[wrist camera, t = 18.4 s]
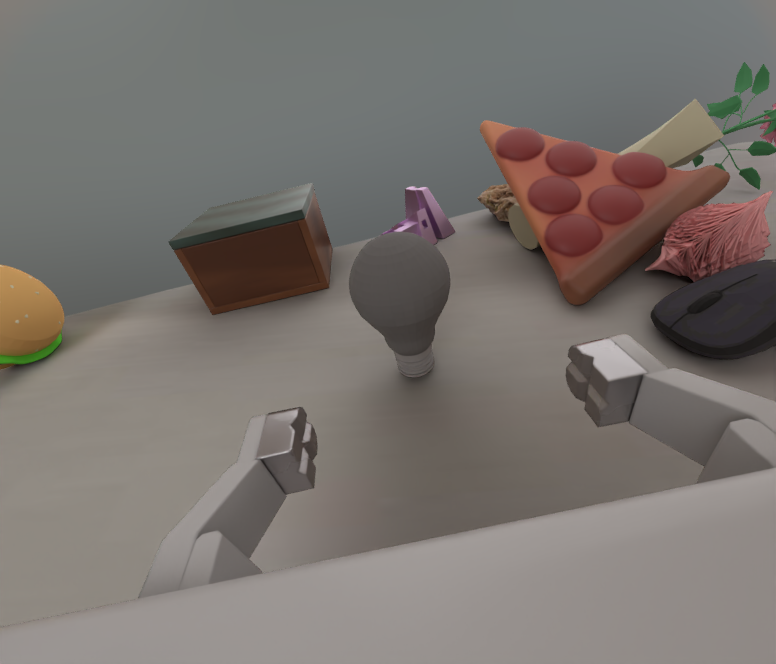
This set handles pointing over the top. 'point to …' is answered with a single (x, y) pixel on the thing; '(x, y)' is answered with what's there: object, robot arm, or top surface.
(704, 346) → the computer mouse
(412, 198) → the letters
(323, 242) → the brown open box
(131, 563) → the top surface
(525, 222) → the flower vase
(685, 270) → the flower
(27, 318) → the hamburger
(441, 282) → the light bulb
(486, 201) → the rock
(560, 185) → the pizza slice
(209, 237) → the dark green box lid
